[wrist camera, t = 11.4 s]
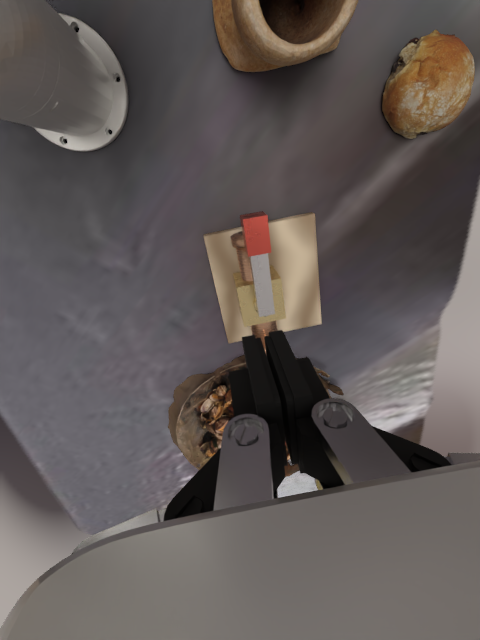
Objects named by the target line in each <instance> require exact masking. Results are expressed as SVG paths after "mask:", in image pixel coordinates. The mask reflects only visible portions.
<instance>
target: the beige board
mask: <svg viewBox="0 0 480 640" xmlns="http://www.w3.org/2000/svg"><path fill="white" fill-rule="evenodd" d="M268 226H269V235H270V244H271V253H268V259H269V266H271V265H273V267H274V268H275V270H276V271H277V273H278V274H279V276H280V277H281V280H282V288H283V297H284V305H285V313H286V319H281V320H276V322H277V329H278V331H279V330H282V331H283V332H285V331H290V330H295V329H300V328H304V327H309V326H314V325H319V324H322V323H321V307H320V291H319V275H318V259H317V243H316V227H315V214H314V213H312V212H310V213H305V214H301V215H296V216H291V217H286V218H281V219H276V220H271V221H268ZM240 231H242V227H237V228H232V229H228V230H223V231H218V232H213V233H208V234H204V240H205V245H206V249H207V253H208V257H209V262H210V266H211V270H212V275H213V279H214V283H215V288H216V292H217V296H218V300H219V305H220V309H221V313H222V318H223V322H224V326H225V331H226V335H227V339H228V343H233V342H237V341H242V337H245V336H251V335H252V332H251V327H250V326H247V327H244V324H243V320H242V316H241V312H240V307H239V302H238V297H237V292H236V287H235V282H234V277H233V273H237V272H240V268H239V263H238V257H237V252H236V248H234V247H233V246H232V242H231V235H233V234H235V233H238V232H240Z"/></svg>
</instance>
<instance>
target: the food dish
mask: <svg viewBox="0 0 480 640" xmlns="http://www.w3.org/2000/svg"><path fill="white" fill-rule="evenodd" d="M296 359H298V358H296ZM245 368H247V367H246V361H245V355H243V356H240V357H238V358H236V359H234V360H233V361H232V362H231V363H227V364H225V365H224V366H222V367H219V368H218V369H216V371H215V372H213V373H210V374H196V375H192V376H190V377H188V378H187V379H186V380H185V381H184V382H183V383H182V384H181V385H179V386H177V387H176V389H175V390H174V396H173V397H174V402H173V403H172V404H171V406H170V407H169V425H168V428H169V429H170V433H171V437H172V439H173V442H174V443H175V444H176V445H177V446H178V448H179V449H180V450H181V452H182V453H183V455H184V456H185V457H186V458H187V460H188V461H189V462H190V464H192V465H193V466H195V467H196V468H197V469H198V470H200V469H201V468H202V467H203V466H204V465H205V464H206V463H207V462H208V461H209V460H210V459H211V457H212V456H213V455H214V454H215V453H216V452H217V451H218V450H219V449H220V448H221V443H222V435H223V430H224V427H225V426H226V424H227V423H228V422H229V421H230V420H231V419H233V418H234V414H233V405H232V396H231V388H230V379H229V371H234V370H239V369H245ZM314 369H315V371H316V373H317V375H318V376H319V378H320V380H321V382H322V384H323V386H324V388H325V389H326V391H327V393H328V395H329V397H330V398H331V396H330V394H329V391H328V389H330V390H331V391H332V392H333V393H336V394H338V395H343V392H342V390H341V389H340V388H339V387H337V386H335V385H332V384H329V382H330V381H325V380H324V379H323V378H322V377H321V376H320V375H319V374H318V373H322V374H321V375H323V376H325V377H330V376H329V375H328V374H327V373H325V372H324V371H322V370H320V369H318V368H316V367H314ZM285 443H286V442H285ZM286 453H287V462H288V460H289V459H290V456H289V452H288V449H287V445H286ZM284 467H285V477H286V476H290V475H292V474H293V473H295V472H297V471H299V467H298V464H294V465H292V466H291V465H289V463H288V466H284Z"/></svg>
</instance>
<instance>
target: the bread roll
mask: <svg viewBox="0 0 480 640" xmlns="http://www.w3.org/2000/svg"><path fill="white" fill-rule="evenodd" d="M399 56H400V58H399V60H398V61H397V62H396V63H394V65H393V68H392V73H391V75H390V76H389V78H388V80H387V81H386V85H385V91H384V93H383V103H382V111H383V112H384V116H385V119H386V120H387V121H388V123H389V125H390V126H391V128H392V129H393V130H394V131H395V132H396V133H398V134H401V135H402V136H404V137H405V138H409V139H413V138H416V136H417V134H427V133H428V132H434V131H437V130H440V129H442V128H444V127H446V126H447V125H449V124H450V123H452V122H453V121H454V120H455V119H456V118H457V117H458V116H459V114H460V113H461V111H462V110H463V108H464V107H465V105H466V103H467V101H468V99H469V97H470V95H471V88H472V85H473V81H474V72H475V68H474V58H473V56H472V55H471V53H470V51H469V50H468V48H467V46H466V45H465V44H464V43H463V42H462V41H461V40H460V39H459V38H457V37H455V34H454V35H444V34H440V33H439V32H438V31H437V30H434V31H433V32H432V33H431V34H429V35H427V36H424V37H421V38H420V39H418V38H414V39H412V40H410V41H409V43H408V44H407V45H406V47H404V48H403V49H402V50H401V53H400V54H399Z"/></svg>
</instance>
